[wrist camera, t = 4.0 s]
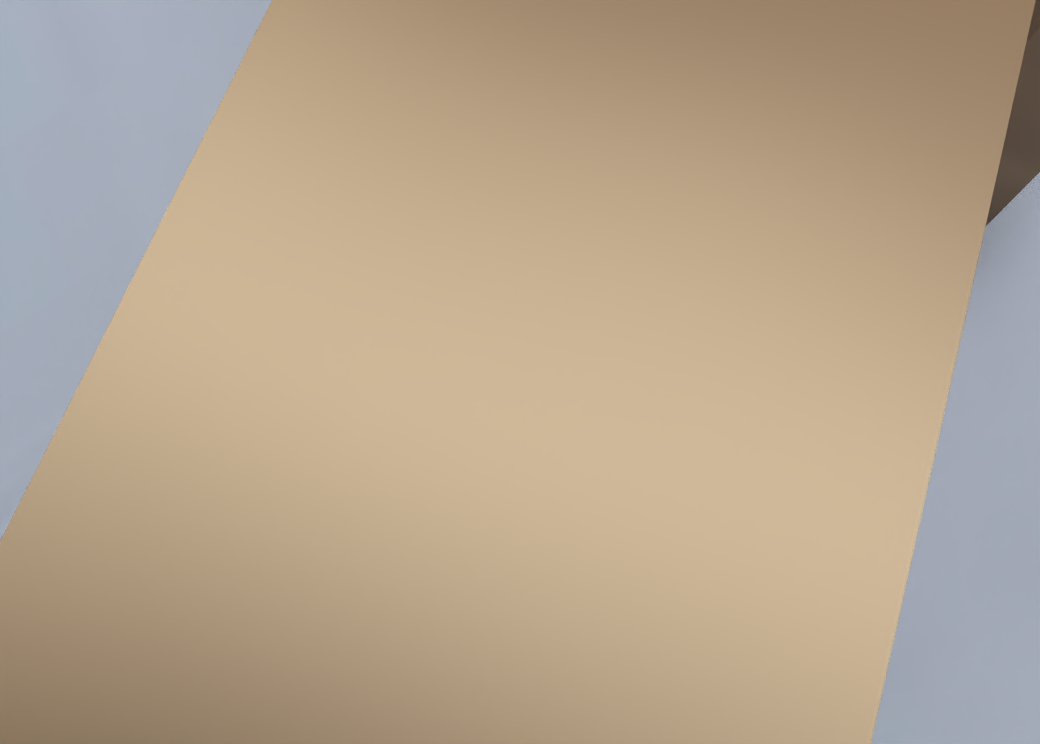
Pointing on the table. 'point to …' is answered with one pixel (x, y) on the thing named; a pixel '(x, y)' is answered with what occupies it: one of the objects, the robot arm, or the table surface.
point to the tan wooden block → (522, 382)
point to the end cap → (1021, 127)
